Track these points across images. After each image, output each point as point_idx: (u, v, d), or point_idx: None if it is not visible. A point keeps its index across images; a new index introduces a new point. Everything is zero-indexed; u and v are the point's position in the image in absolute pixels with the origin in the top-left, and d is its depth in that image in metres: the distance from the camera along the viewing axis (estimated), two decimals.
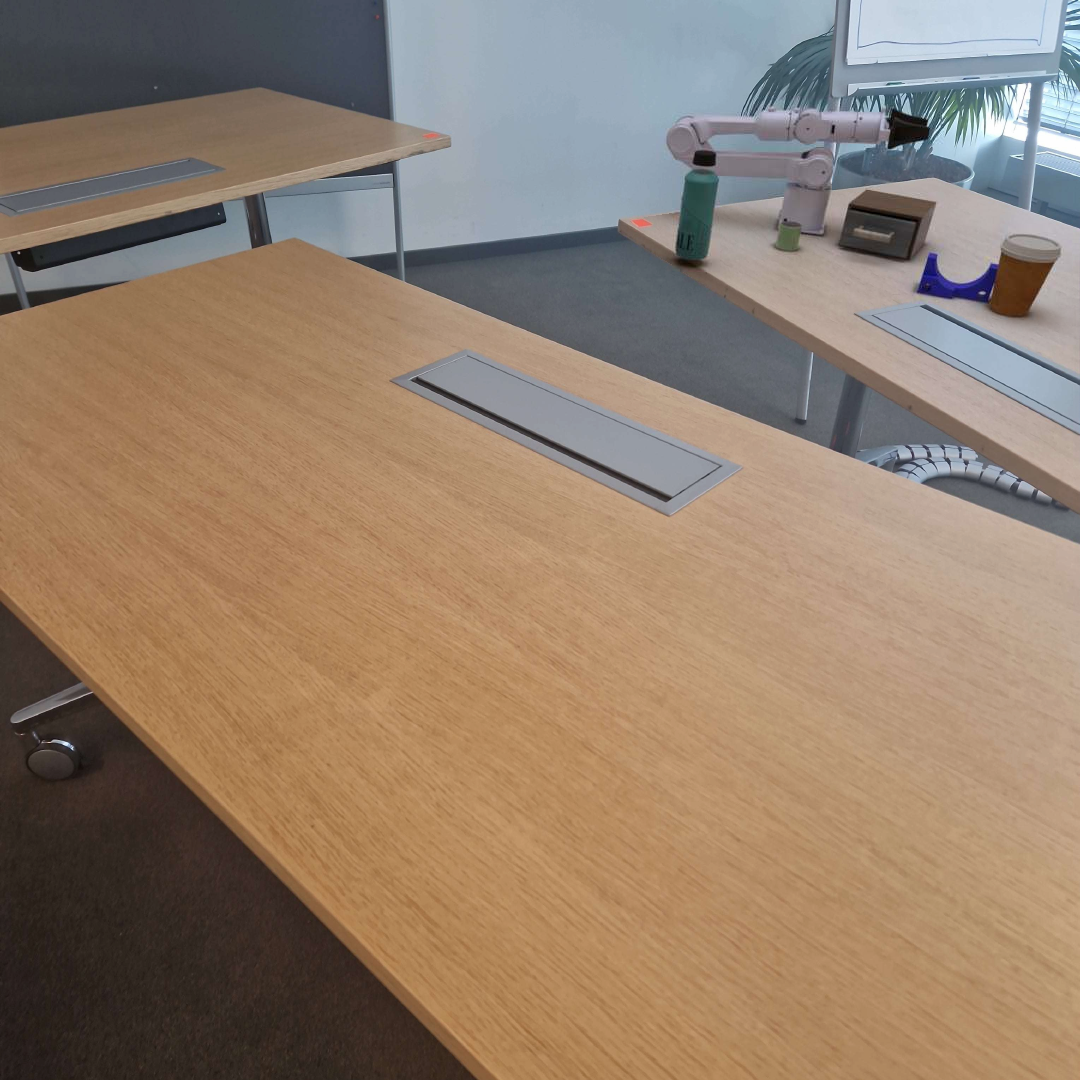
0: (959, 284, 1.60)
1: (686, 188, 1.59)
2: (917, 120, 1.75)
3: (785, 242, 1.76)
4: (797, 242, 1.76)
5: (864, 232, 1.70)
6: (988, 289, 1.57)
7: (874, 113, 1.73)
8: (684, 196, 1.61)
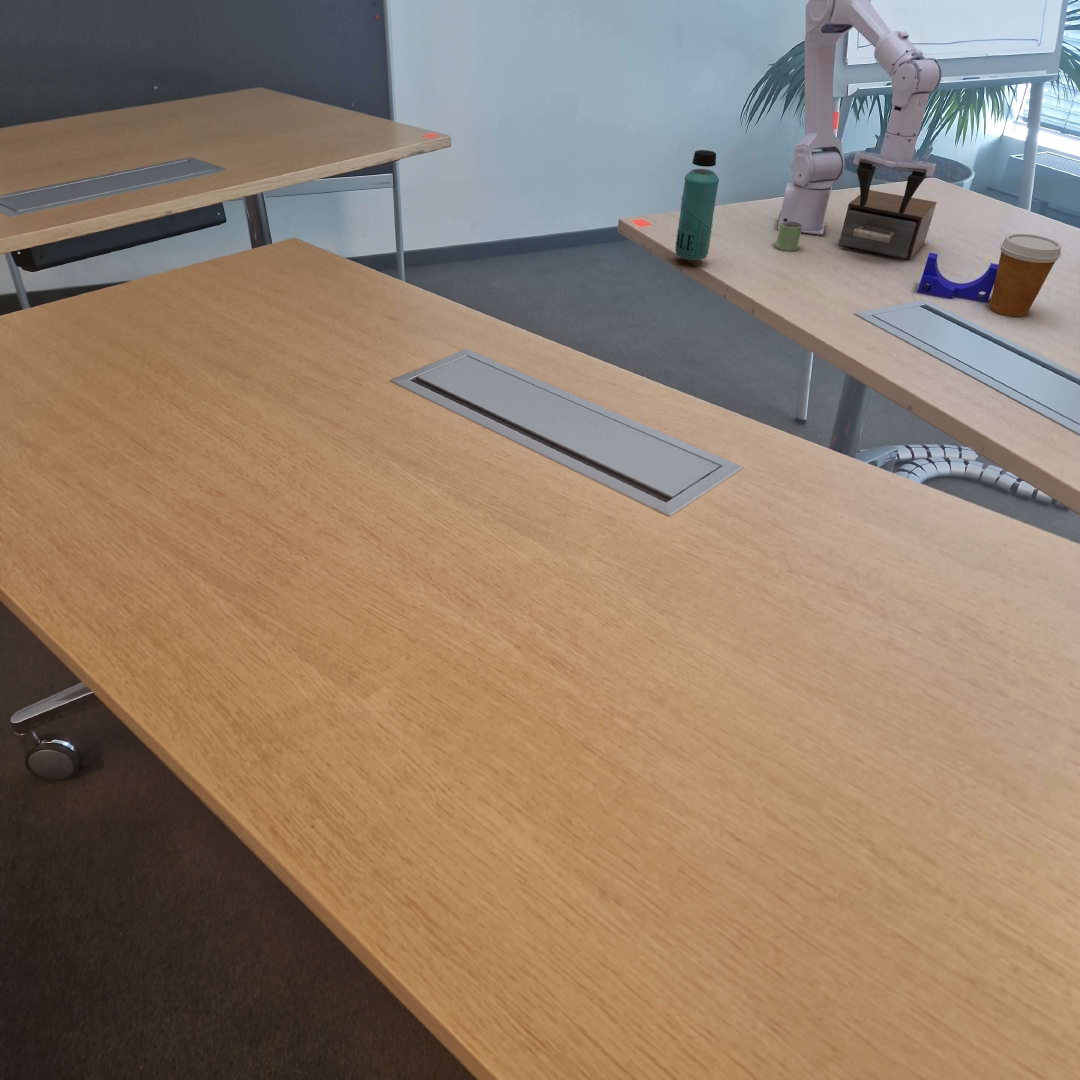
0: (959, 284, 1.60)
1: (686, 188, 1.59)
2: None
3: (785, 242, 1.76)
4: (797, 242, 1.76)
5: (864, 232, 1.70)
6: (988, 289, 1.57)
7: (890, 153, 1.62)
8: (684, 196, 1.61)
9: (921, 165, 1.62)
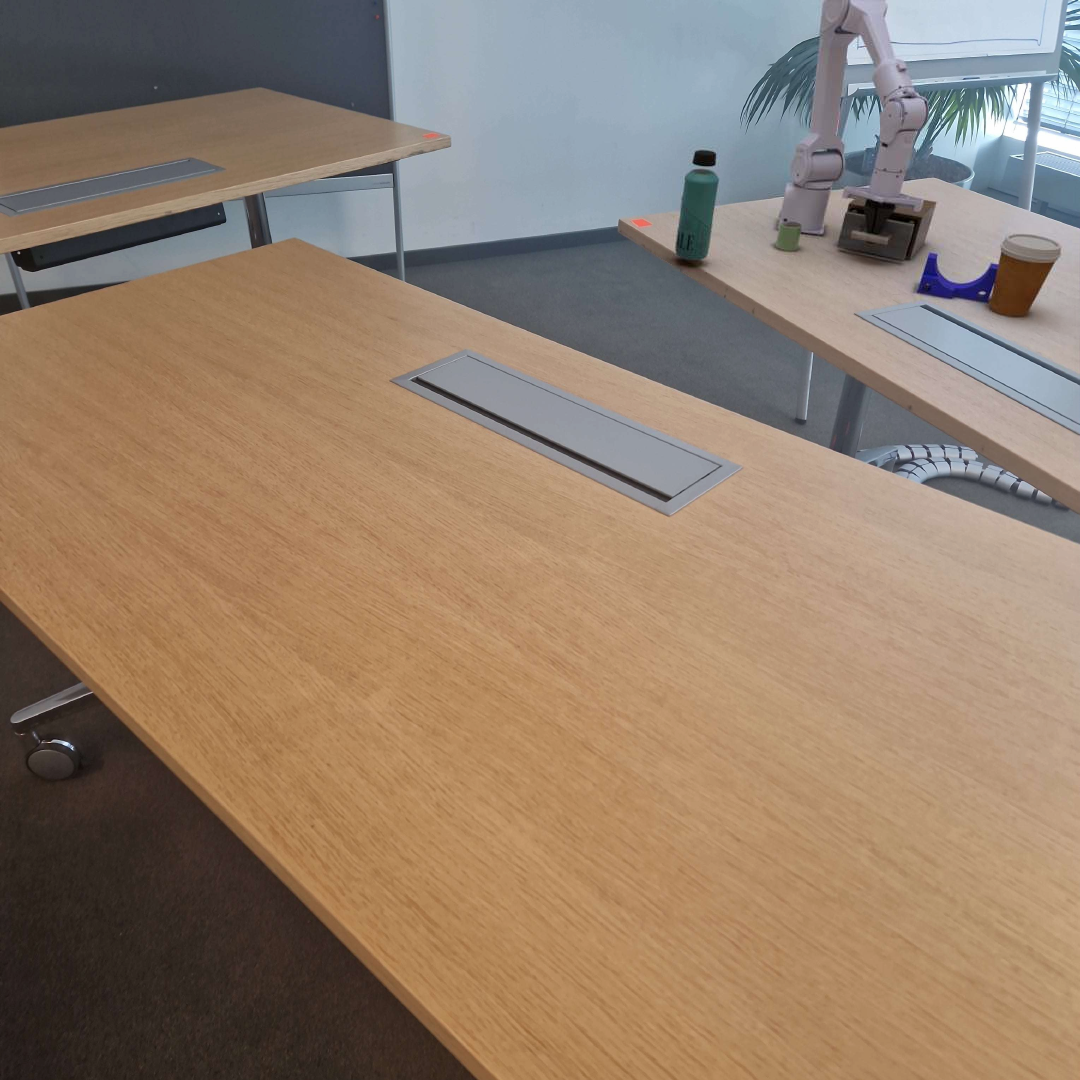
0: (959, 284, 1.60)
1: (686, 188, 1.59)
2: None
3: (785, 242, 1.76)
4: (797, 242, 1.76)
5: (862, 234, 1.69)
6: (988, 289, 1.57)
7: (878, 188, 1.64)
8: (684, 196, 1.61)
9: (909, 200, 1.63)
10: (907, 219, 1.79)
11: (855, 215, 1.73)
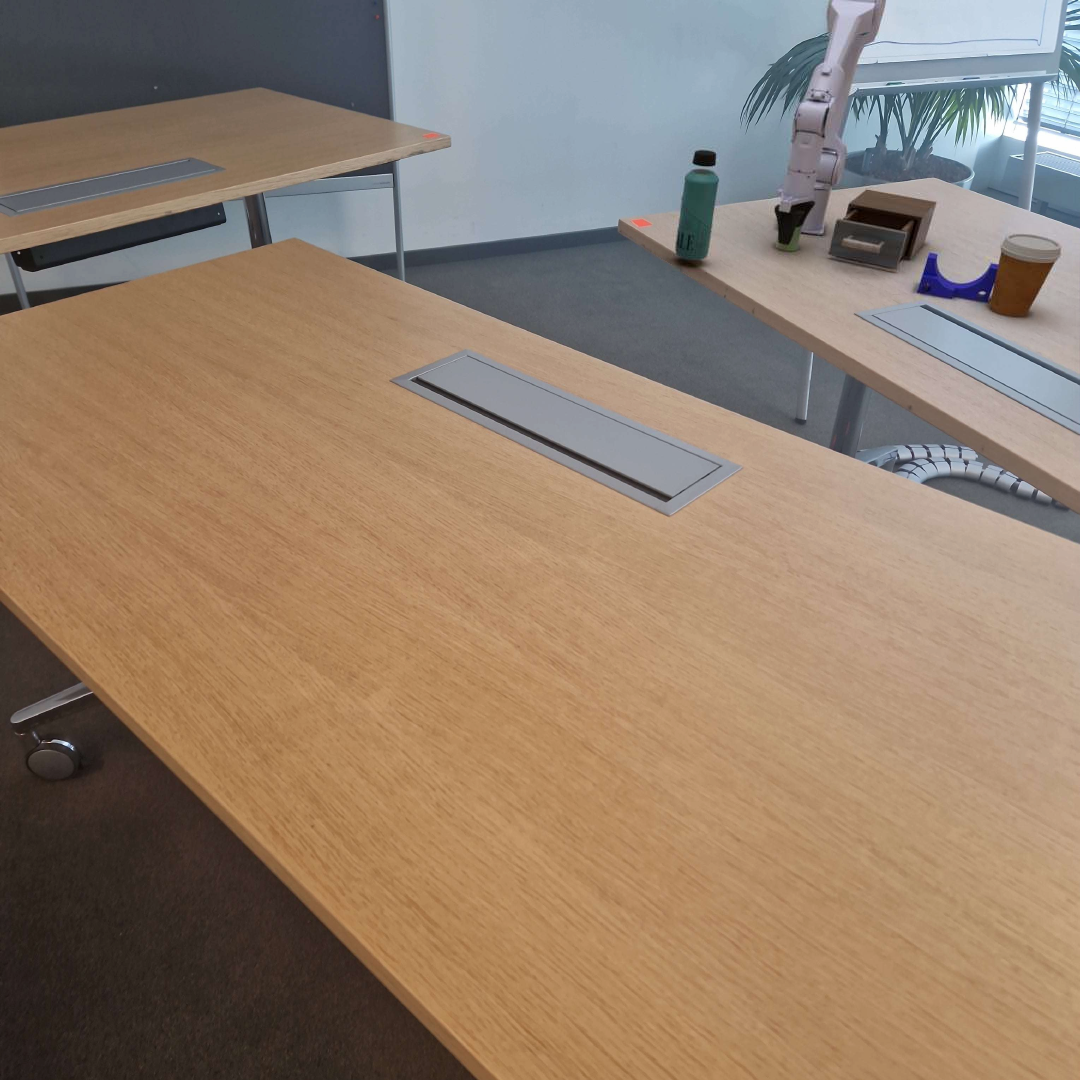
0: (958, 284, 1.60)
1: (686, 188, 1.59)
2: None
3: None
4: (797, 242, 1.76)
5: (853, 242, 1.65)
6: (988, 289, 1.57)
7: None
8: (684, 196, 1.61)
9: (782, 198, 1.69)
10: (900, 226, 1.75)
11: (846, 222, 1.68)
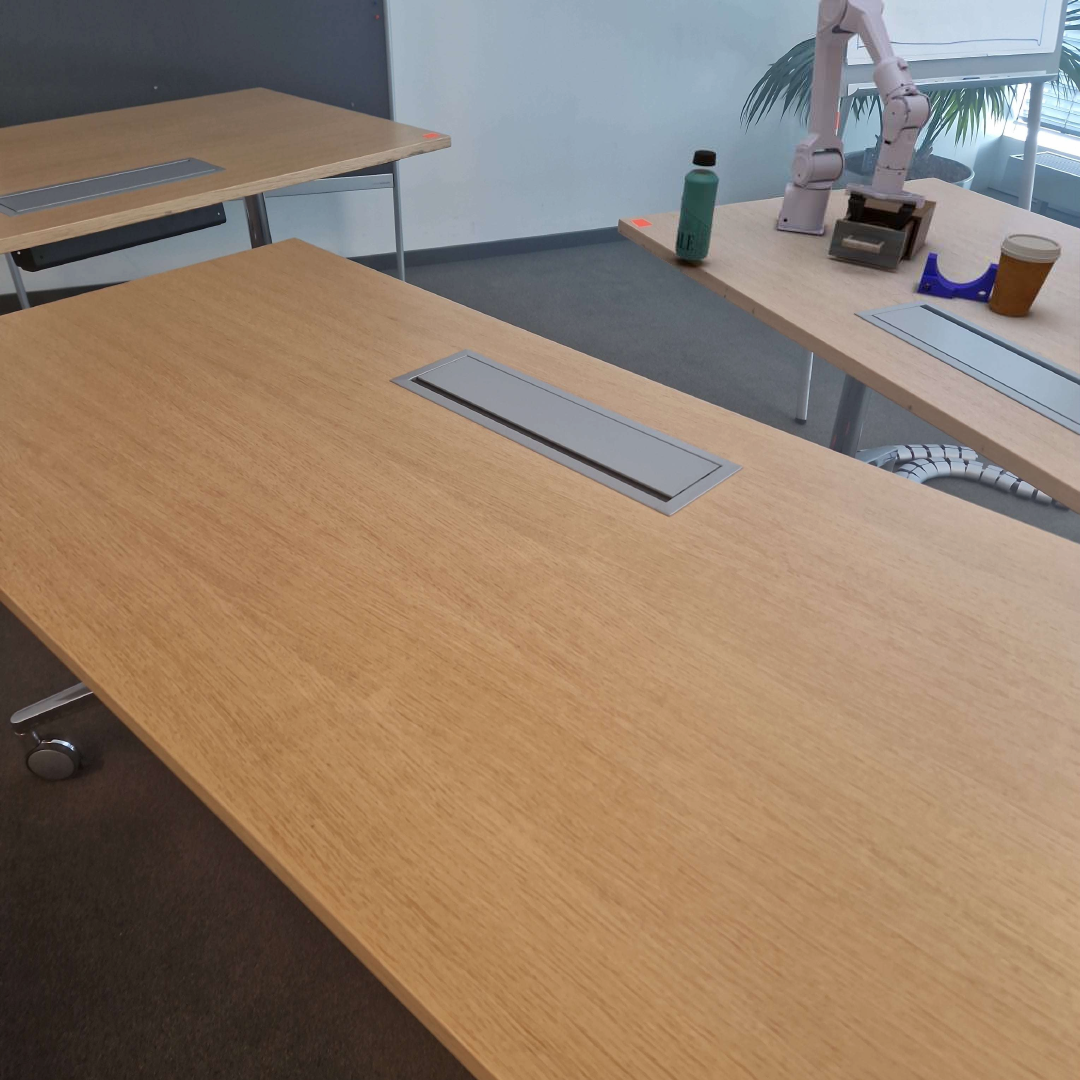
0: (958, 284, 1.60)
1: (686, 188, 1.59)
2: None
3: None
4: None
5: (853, 242, 1.65)
6: (988, 289, 1.57)
7: (880, 185, 1.65)
8: (684, 196, 1.61)
9: (911, 198, 1.64)
10: None
11: (846, 222, 1.68)
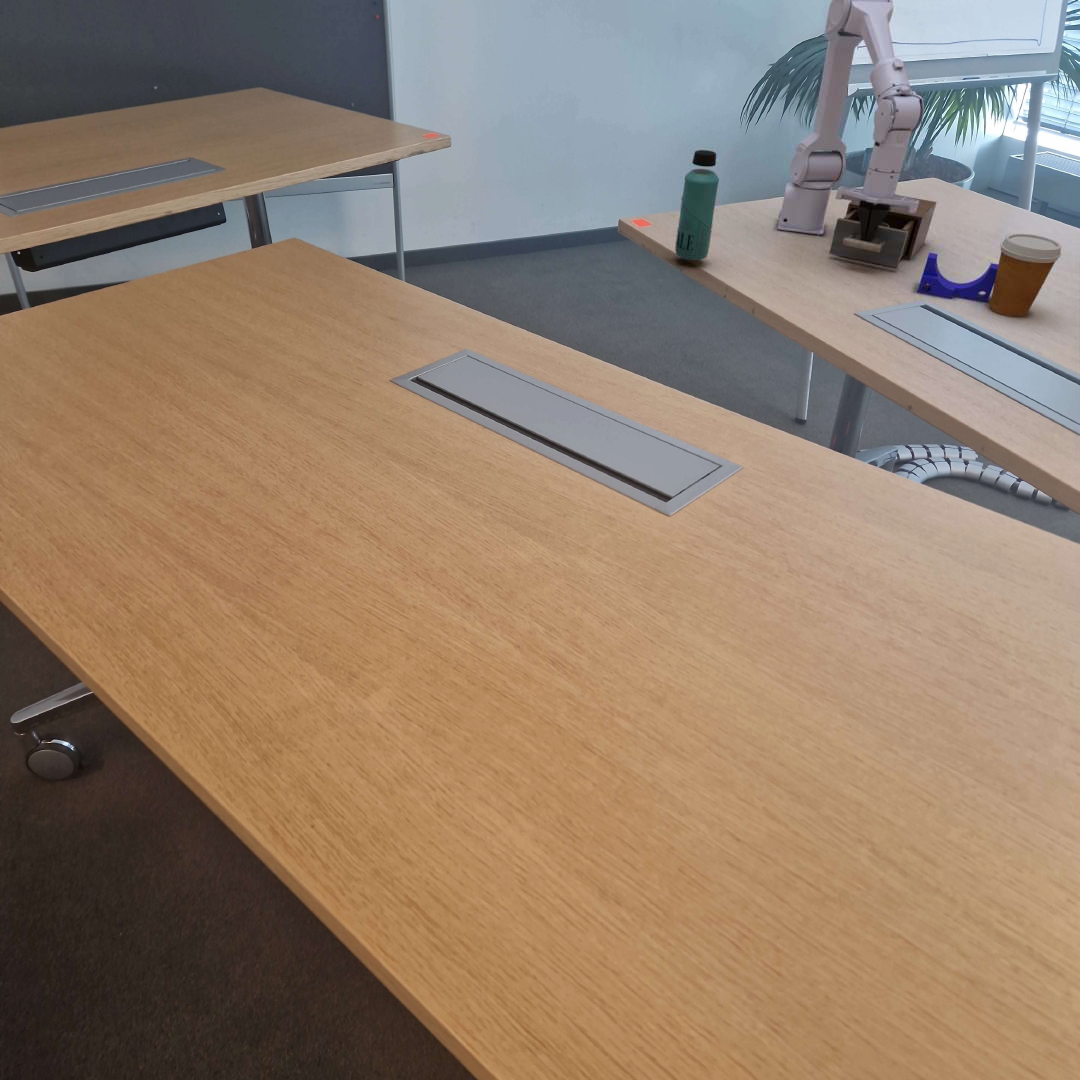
0: (958, 284, 1.60)
1: (686, 188, 1.59)
2: None
3: None
4: None
5: (854, 241, 1.65)
6: (988, 289, 1.57)
7: (872, 189, 1.60)
8: (684, 196, 1.61)
9: (904, 202, 1.59)
10: (901, 225, 1.75)
11: (847, 222, 1.69)
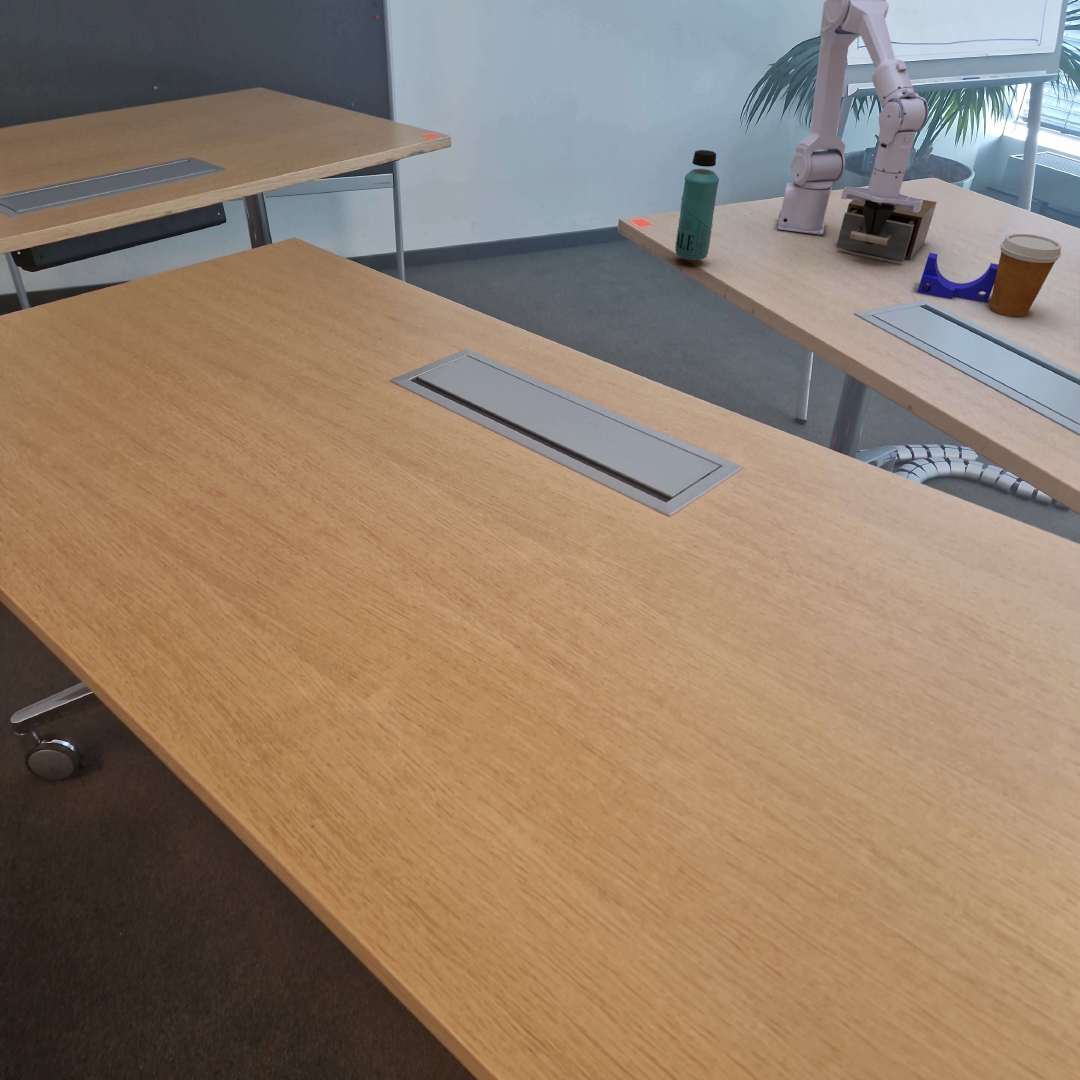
0: (958, 284, 1.60)
1: (686, 188, 1.59)
2: None
3: None
4: None
5: (861, 235, 1.69)
6: (988, 289, 1.57)
7: (877, 189, 1.63)
8: (684, 196, 1.61)
9: (908, 201, 1.63)
10: (906, 220, 1.78)
11: (854, 216, 1.72)
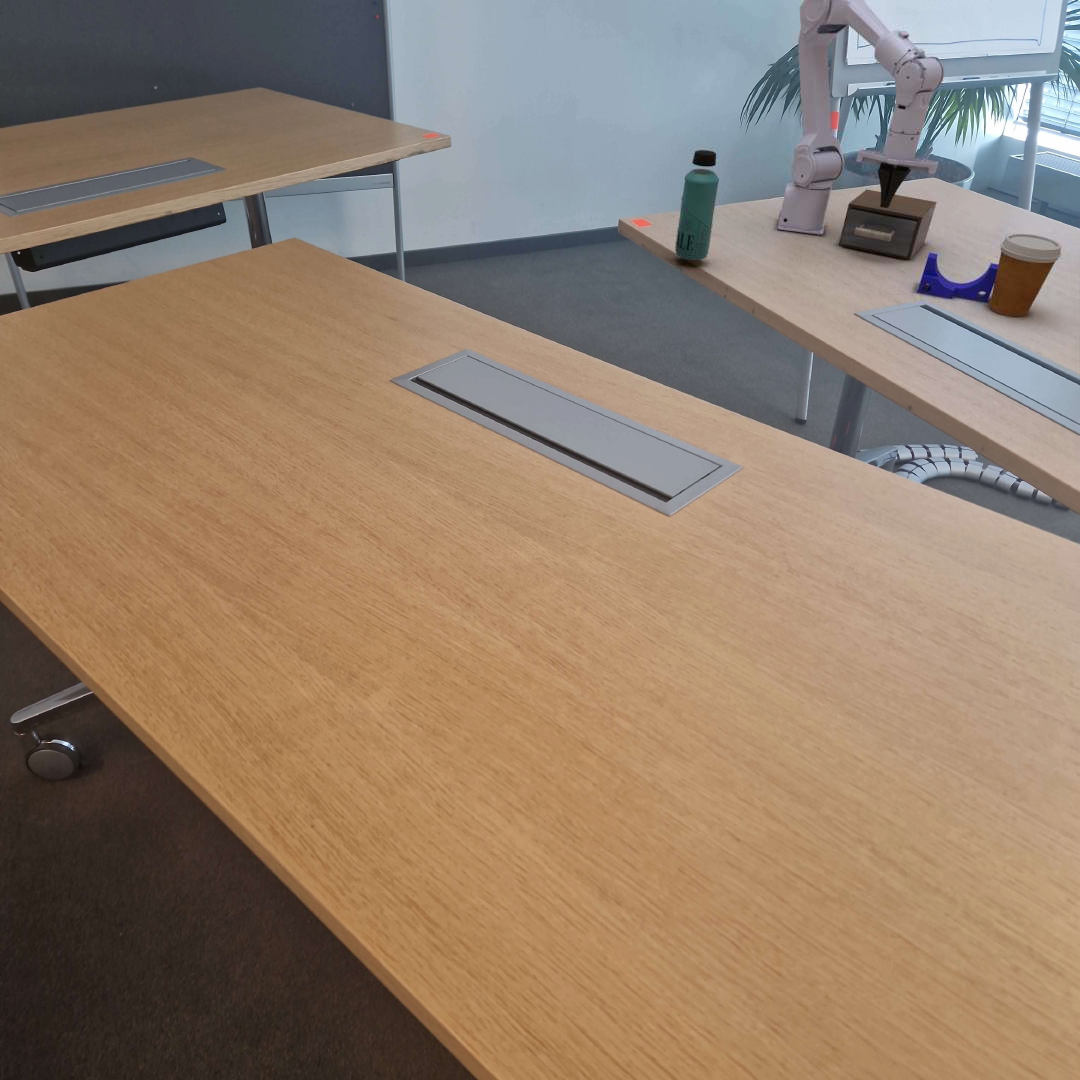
0: (958, 284, 1.60)
1: (686, 188, 1.59)
2: None
3: None
4: None
5: (865, 231, 1.71)
6: (988, 289, 1.57)
7: (893, 151, 1.64)
8: (684, 196, 1.61)
9: (924, 163, 1.63)
10: None
11: (859, 212, 1.75)
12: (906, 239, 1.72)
